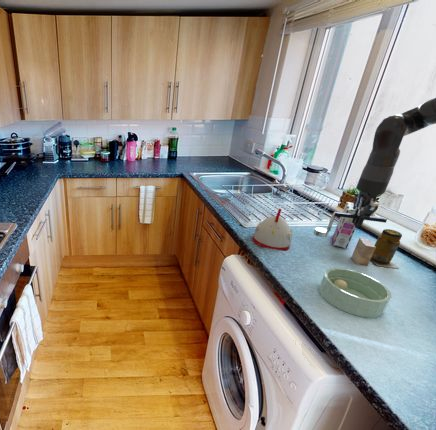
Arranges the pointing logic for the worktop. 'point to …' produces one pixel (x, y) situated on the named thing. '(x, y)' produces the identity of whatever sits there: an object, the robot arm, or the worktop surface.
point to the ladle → (324, 232)
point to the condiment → (386, 248)
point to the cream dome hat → (273, 233)
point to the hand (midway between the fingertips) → (356, 224)
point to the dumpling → (340, 284)
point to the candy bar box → (344, 228)
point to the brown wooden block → (363, 252)
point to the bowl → (355, 292)
